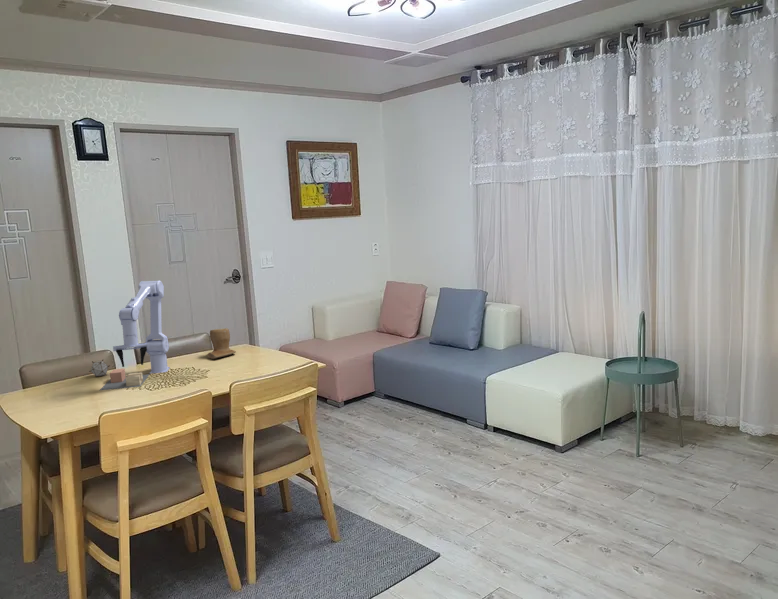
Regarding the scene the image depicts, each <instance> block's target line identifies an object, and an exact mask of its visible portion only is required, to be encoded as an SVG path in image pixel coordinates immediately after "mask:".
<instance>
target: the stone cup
mask: <svg viewBox="0 0 778 599" xmlns="http://www.w3.org/2000/svg"><path fill="white" fill-rule="evenodd" d="M230 333H231V332H230V329H229V328H227V327H226V328H215V329H210V331H209V339H210V342H211V344H212V347H213V350H212V351H210V352H209V353H207V357H208V358H209V359H211V360H215V359H221V358H223V357H227V356H230V355H232V354H236V353H237V351H236V350H233V349H231V348H230V340H231V334H230Z"/></svg>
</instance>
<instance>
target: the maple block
mask: <svg viewBox="0 0 778 599" xmlns="http://www.w3.org/2000/svg"><path fill="white" fill-rule="evenodd" d="M143 375H144V374H143V372H132V373H128V374H127V375H126V376H127V377H126V386H136V385H140V384H141V383H142V382H143Z"/></svg>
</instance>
